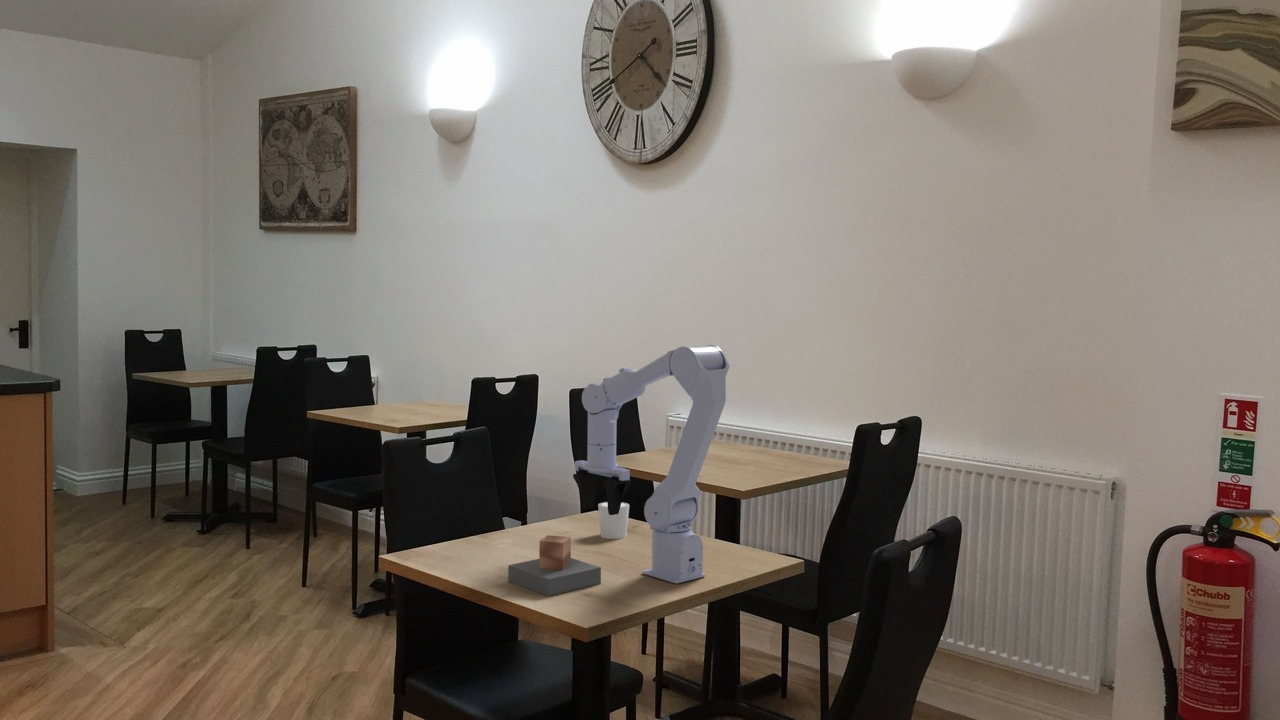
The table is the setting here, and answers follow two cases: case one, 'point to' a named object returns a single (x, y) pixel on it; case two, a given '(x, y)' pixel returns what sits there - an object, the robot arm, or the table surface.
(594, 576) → the charcoal plinth
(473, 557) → the table surface
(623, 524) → the white tapered cylinder
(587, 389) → the robot arm
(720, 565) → the table surface
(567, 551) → the terracotta cube
